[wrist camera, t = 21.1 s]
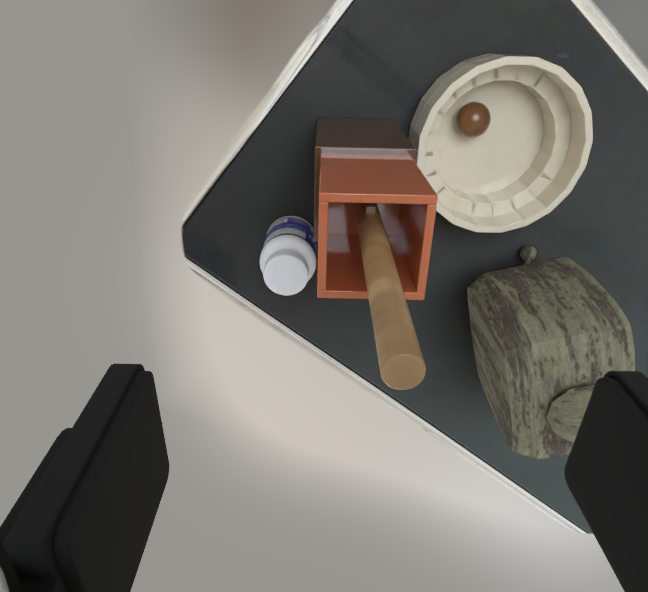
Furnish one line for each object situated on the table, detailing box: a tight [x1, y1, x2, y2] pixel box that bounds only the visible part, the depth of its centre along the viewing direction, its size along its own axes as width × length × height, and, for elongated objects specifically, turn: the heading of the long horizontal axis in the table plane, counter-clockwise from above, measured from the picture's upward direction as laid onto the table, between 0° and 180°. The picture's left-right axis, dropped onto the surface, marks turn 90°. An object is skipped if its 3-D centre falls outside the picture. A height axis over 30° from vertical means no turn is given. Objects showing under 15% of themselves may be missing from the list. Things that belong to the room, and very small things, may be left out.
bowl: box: [409, 53, 593, 233], centre depth 43 cm, size 14×14×6 cm
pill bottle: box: [260, 216, 317, 296], centre depth 47 cm, size 5×5×9 cm
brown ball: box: [455, 102, 491, 138], centre depth 43 cm, size 3×3×3 cm
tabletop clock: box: [467, 246, 635, 459], centre depth 43 cm, size 14×9×25 cm, turn 14°
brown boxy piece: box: [314, 118, 438, 300], centre depth 37 cm, size 7×7×23 cm
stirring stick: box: [354, 203, 426, 390], centre depth 26 cm, size 2×2×20 cm
